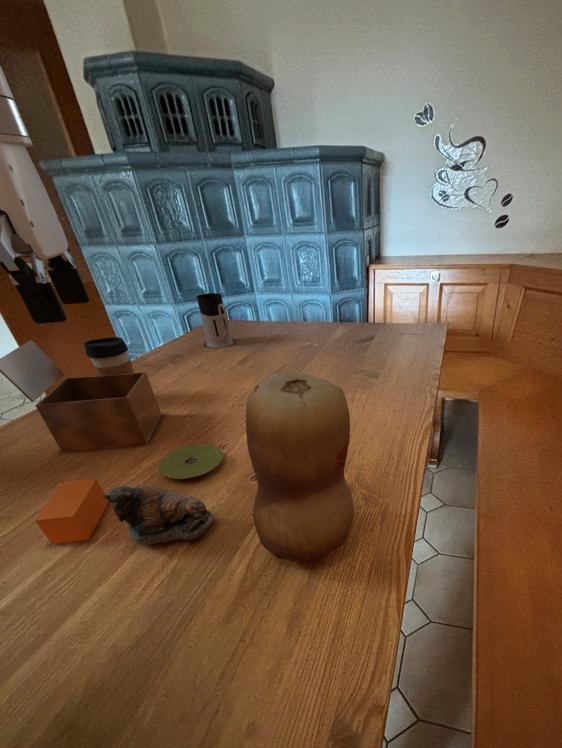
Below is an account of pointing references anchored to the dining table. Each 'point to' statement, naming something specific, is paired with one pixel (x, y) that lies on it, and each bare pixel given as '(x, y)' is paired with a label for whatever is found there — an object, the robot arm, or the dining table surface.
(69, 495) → the block
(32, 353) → the carton flap
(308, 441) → the butternut squash
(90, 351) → the coffee cup
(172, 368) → the dining table surface
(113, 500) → the bison figurine
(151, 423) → the carton
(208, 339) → the glass holder
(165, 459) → the mat
